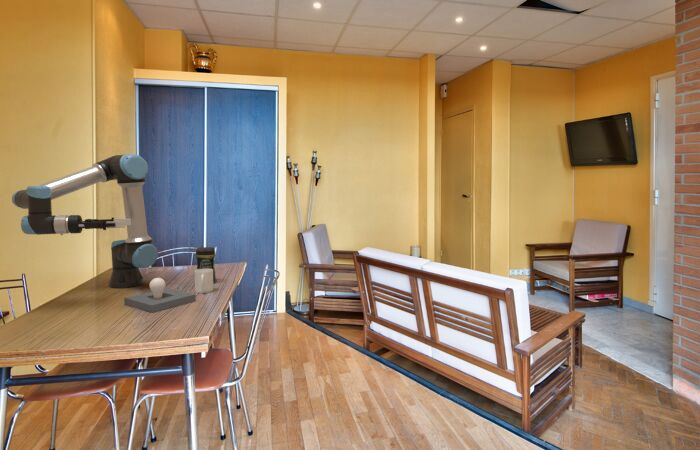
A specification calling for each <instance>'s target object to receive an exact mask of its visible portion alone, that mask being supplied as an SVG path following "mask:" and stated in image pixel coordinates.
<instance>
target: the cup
mask: <svg viewBox="0 0 700 450" xmlns="http://www.w3.org/2000/svg"><path fill="white" fill-rule="evenodd" d="M194 290H195V293H196V294H208V293H211V292H213V291H214V283H213V269H197V268H196V269H195V270H194Z"/></svg>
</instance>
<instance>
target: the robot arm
mask: <svg viewBox="0 0 700 450" xmlns="http://www.w3.org/2000/svg"><path fill="white" fill-rule="evenodd" d="M148 172H149V164H148V163H147V161H146V160H145V159H144V158H143V157H142V156H141V155H139V154H135V153H127V154H126V153H125V154H116V155H115V154H114V155H113V156H110V157H107V158H105V159H102V160H101V161H98V162H95V163H92V166H90V167H87V168H85V169H82V170H78V171H76V172H73V173H70V174H66V175H64V176H61V177H59V178H56V179H52V180H50V181H46V182H43V183H40V184H39V185H28V186H27V187H26V189H20V190H17V191H16V192H14V193H13V194H12V196H11V201H12V203H13V204H14V206H15V207H17V208H20V209H24V210H26V209H27V210H28V211H27V212H28V214H27V215H24V216H22V218H21V220H20V228H21V230H22V233H23V234H26V235H60V236H63V235H65V234H69V233H70V234H81V233H82V232H83V229H85V230H92V229H97V230H98V229H99V230H102V231H107V229H123V228H124V229H126V233H127V238H126V239H120V240H113V241H112V242H111V245H110V246H111V247H110V251H111V265H112V266H111V267H112V271H111V274H110V278H109V282H108V285H109V287H110V288H115V289H120V288H121V289H123V288H133V287H137V286H140V285H143V284H144V278H143V276H142V272H141V271H140V269H142V268H143V269H145V268H149V267H151V266H153V265H154V264H155V262H156V261H157V259H158V257H159V251H158V248H157V247H156V246H155V245H154V244H153V240H152V237H151V236H150V235H149V234H148V226H147V217H146V211H145V209H146V208H145V207H146V206H145V201H144V191H143V185H145V184H146V180H145V179H146V178H145V177H146V176H147V175H148V174H149V173H148ZM110 181H116V183H117V185H118V186H119V187H121V194H122V200H123V209H124V218H115V217H111V218H104V219H99V218H98V219H97V218H95V219H94V218H86V219H84V220H83V218H82V216H81V215H80V214H70V215H68V214H57V215H53V213H52V200H53V201H54V200H55V199H58V198H60V197H63V196H65V195H69V194H71V193H74V192H76V191H79V190H81V189H84V188H88V187H89V186H92V185H95V184H98V183H100V182H101V183H107V182H110ZM139 268H140V269H139Z"/></svg>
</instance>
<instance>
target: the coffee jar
mask: <svg viewBox="0 0 700 450" xmlns="http://www.w3.org/2000/svg"><path fill="white" fill-rule="evenodd" d="M195 258H196V264H197V265H196V270H197V269H213V284H214V283H216V280H217V279H216V269H215V258H216V250H215V248H214V247H213V246H212V247H210V246H209V247H208V246H207V247H203V246H202V247H197V248H196V250H195Z"/></svg>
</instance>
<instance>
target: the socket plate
mask: <svg viewBox="0 0 700 450" xmlns="http://www.w3.org/2000/svg"><path fill="white" fill-rule="evenodd" d="M196 294H197V293H196ZM196 294H195V293H192V292H187V291H181V290H177V289H173V288H168V287H165V288H164V290H163V293H162V297H161V299H158V300H157V299H154V295H153V292H152V291H150V292H145V293H140V294H135V295H132V296H127V297H124V298H123V299H124V302H123V303H124V306H127V307H131V308H135V309H137V310H141V311H144V312H148V313H150V314H151V313H152V314H153V313H157V312H161V311H163V310H164V311H166V310H168V309H172V308H175V307H178V306H182V305H186V304H190V303H194V302H196V301H197V300H196V299H197V297H196Z"/></svg>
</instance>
